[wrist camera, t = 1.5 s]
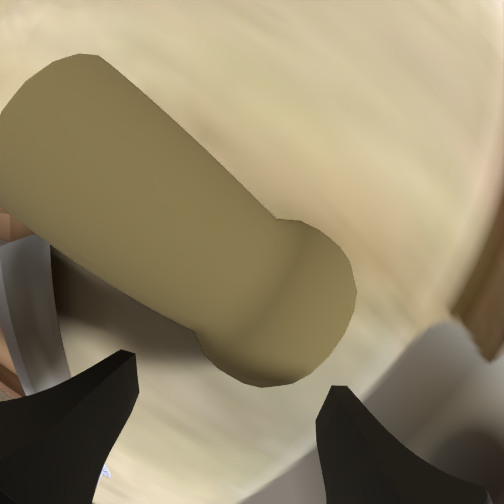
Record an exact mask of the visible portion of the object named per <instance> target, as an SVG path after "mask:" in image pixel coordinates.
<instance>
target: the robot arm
mask: <svg viewBox="0 0 504 504" xmlns="http://www.w3.org/2000/svg"><path fill="white" fill-rule="evenodd" d="M138 394H139V385H138V376H137V366H136V355H135V353H132V352H128V351H125V350H122V349H121V350H119V351H117V352H115V353H114V354H112V355H110V356H109V357H107V358H105V359H104V360H102V361H101V362H99V363H97V364H96V365H94V366H92V367H90V368H89V369H87V370H85V371H83V372H82V373H80V374H78V375H76V376H74V377H72V378H70V379H68V380H66V381H64V382H62V383H60V384H58V385H56V386H53V387H51V388H48V389H46V390H43V391H40V392H38V393H35V394H32V395H28V396H24V397H20V398H16V399H12V400H7V401H1V402H0V504H92V500H93V496H94V493H95V490H96V488H97V485H98V483H99V481H100V479H101V477H102V475H104V476H107V477H112V476H111V474H110V472H109V470H108V468H107V466H106V464H105V461H106V459H107V457H108V455H109V453H110V451H111V449H112V447H113V445H114V444H115V442H116V440H117V438H118V436H119V434H120V433H121V431H122V429H123V427H124V425H125V424H126V422H127V420H128V418H129V416H130V414H131V412H132V410H133V407H134V405H135V402H136V400H137V397H138ZM316 441H317V448H318V453H319V458H320V463H321V469H322V474H323V479H324V484H325V490H326V498H327V499H326V500H327V504H492V501H491V499H490V496H489V494H488V492H487V490H486V488H485V487H484V486H480V485H477V484H473V483H470V482H467V481H464V480H461V479H458V478H456V477H454V476H451V475H449V474H447V473H445V472H443V471H441V470H439V469H437V468H436V467H434V466H432V465H431V464H429V463H427V462H426V461H424V460H423V459H421V458H420V457H418V456H417V455H415V454H414V453H413V452H411V451H410V450H409V449H408V448H406V447H405V446H404V445H402V444H401V443H400V442H399V441H398V440H397V439H396V438H395V437H394V436H393V435H392V434H390V433H389V432H388V431H387V430H386V429H385V428H384V427H383V426H382V425H381V424H380V423H379V422H378V420H377V419H376V418H375V417H374V416H373V415H372V414H371V413H370V412H369V411H368V409H367V408H366V407H365V406H364V405H363V404H362V403H361V401H360V400H359V399H358V398H357V397H356V396H355V395H354V393H353V392H352V391H351V390H350V389H349V388H348V387H347V386H333V385H332V386H331V388H330V391H329V393H328V395H327V397H326V399H325V402H324V404H323V406H322V408H321V410H320V412H319V414H318V416H317V418H316ZM104 470H105V471H104Z"/></svg>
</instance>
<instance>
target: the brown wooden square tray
mask: <svg viewBox="0 0 504 504" xmlns="http://www.w3.org/2000/svg"><path fill="white" fill-rule="evenodd" d="M70 378H71V376H70V372H69V369H68V365H67V361H66V357H65V353H64V349H63V344H62V340H61V335H60V330H59V324H58V319H57V313H56V306H55V299H54V291H53V282H52V271H51V257H50V244H48V243H47V242H46V241H44V240H43V239H42V238H40V237H39V236H38V235H36V234H35V233H34V232H33V231H31V230H30V229H29V228H27V227H26V226H25V225H24V224H22V223H21V222H20V221H19V220H17V219H16V218H15V217H14V216H13V215H11V214H10V213H9V212H8V211H7V210H6V209H4V208H3V207H2V206H1V205H0V389H1V390H2V391H4V392H5V393H6V394H8V395H9V396H10V397H12V398H13V399H16V398H20V397H24V396H28V395H32V394H35V393H38V392H40V391H43V390H46V389H48V388H51V387H53V386H56V385H58V384H60V383H62V382H64V381H66V380H68V379H70Z"/></svg>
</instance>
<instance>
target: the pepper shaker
mask: <svg viewBox="0 0 504 504" xmlns="http://www.w3.org/2000/svg"><path fill="white" fill-rule="evenodd" d="M0 205H1V206H2V207H3V208H4V209H6V210H7V211H8V212H9V213H10V214H11V215H13V216H14V217H15V218H16V219H17V220H19V221H20V222H21V223H22V224H24V225H25V226H26V227H27V228H29V229H30V230H31V231H33V232H34V233H35V234H36V235H38V236H39V237H40V238H42V239H43V240H44V241H46V242H47V243H48V244H50V245H51V246H53V247H54V248H55V249H57V250H58V251H60V252H61V253H62V254H64V255H65V256H67V257H68V258H70V259H71V260H72V261H74V262H75V263H77V264H78V265H80V266H81V267H83V268H84V269H86V270H87V271H89V272H90V273H92V274H93V275H95V276H97V277H98V278H100V279H101V280H103V281H104V282H106V283H108V284H109V285H111V286H113V287H114V288H116V289H117V290H119V291H121V292H122V293H124V294H126V295H128V296H129V297H131V298H133V299H134V300H136V301H138V302H140V303H141V304H143V305H145V306H147V307H148V308H150V309H152V310H154V311H156V312H157V313H159V314H161V315H163V316H165V317H167V318H169V319H171V320H172V321H174V322H176V323H178V324H180V325H182V326H184V327H186V328H188V329H190V330H192V331H194V332H195V334H196V337H197V339H198V341H199V344H200V346H201V348H202V351H203V353H204V355H205V356H206V357H207V358H208V359H209V360H210V361H211V362H212V363H213V364H214V365H215V366H216V367H217V368H218V369H220V370H221V371H223V372H225V373H226V374H228V375H230V376H231V377H233V378H235V379H237V380H238V381H240V382H242V383H244V384H248V385H252V386H256V387H261V388H263V387H273V386H281V385H287V384H293V383H294V382H296V381H298V380H300V379H302V378H304V377H305V376H307V375H309V374H311V373H312V372H313V371H314V370H315V369H316V368H317V367H318V366H319V365H320V364H321V363H322V362H323V361H324V360H325V359H327V358H328V357H329V355H330V354H331V353H332V351H333V350H334V348H335V347H336V345H337V344H338V343H339V341H340V340H341V338H342V337H343V335H344V334H345V331H346V329H347V327H348V324H349V322H350V320H351V317H352V315H353V312H354V308H355V301H356V294H357V290H356V285H355V281H354V277H353V272H352V268H351V264H350V261H349V260H348V258H347V257H346V255H345V254H344V252H343V251H342V249H341V248H340V247H339V246H338V245H337V244H336V243H335V242H334V241H332V240H331V239H330V238H329V237H328V236H326V235H325V234H324V233H322V232H321V231H320V230H318V229H316V228H314V227H312V226H310V225H308V224H306V223H304V222H302V221H296V220H284V219H275V218H274V217H273V216H272V215H271V214H270V213H269V212H268V210H267V209H266V208H265V207H264V206H263V205H262V204H261V203H260V202H259V201H258V200H257V199H256V198H255V197H254V196H253V195H252V194H251V193H250V192H249V191H248V190H247V189H246V188H245V187H244V186H243V185H242V184H241V183H240V182H239V181H238V180H237V179H236V178H235V177H233V176H232V175H231V174H230V173H229V172H228V171H227V170H226V169H225V168H224V167H223V166H222V165H221V164H220V163H219V162H218V161H217V160H216V159H215V158H214V157H213V156H212V155H211V154H210V153H209V152H208V151H207V150H206V149H204V148H203V147H202V146H201V145H200V144H199V143H198V142H197V141H196V140H195V139H194V138H193V137H192V136H191V135H190V134H188V133H187V132H186V131H185V130H184V129H183V128H182V127H181V126H180V125H179V124H178V123H177V122H175V121H174V120H173V119H172V118H171V117H170V116H169V115H168V114H167V113H166V112H164V111H163V110H162V109H161V108H160V107H159V106H158V105H157V104H156V103H154V102H153V101H152V100H151V99H150V98H149V97H148V96H147V95H145V94H144V93H143V92H142V91H141V90H140V89H139V88H137V87H136V86H135V85H134V84H133V83H132V82H130V81H129V80H128V79H127V78H126V77H125V76H123V75H122V74H121V73H120V72H119V71H118V70H116V69H115V68H114V67H113V66H112V65H110V64H109V63H108V62H106V61H105V60H104V59H102V58H101V57H100V56H98V55H88V54H76V55H73V56H69V57H66V58H63V59H60V60H57V61H54V62H52V63H51V64H49V65H48V66H46V67H45V68H43V69H42V70H41V71H39V72H38V73H36V74H35V75H34V76H32V77H31V78H30V79H28V80H27V81H26V82H25V83H24V84H23V85H22V86H21V88H20V89H19V90H18V91H17V92H16V94H15V95H14V96H13V97H12V99H11V100H10V101H9V103H8V104H7V105H6V107H5V108H4V109H3V111H2V112H1V115H0Z"/></svg>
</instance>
